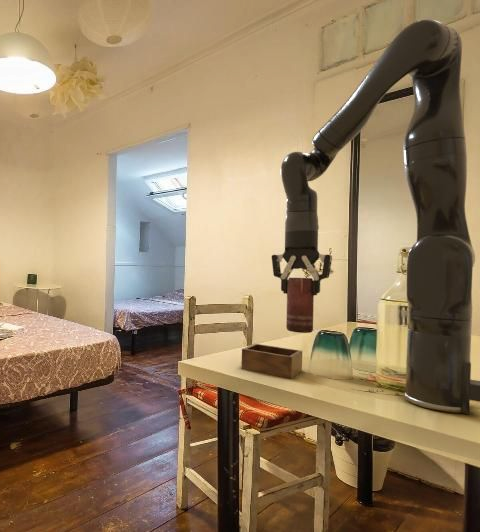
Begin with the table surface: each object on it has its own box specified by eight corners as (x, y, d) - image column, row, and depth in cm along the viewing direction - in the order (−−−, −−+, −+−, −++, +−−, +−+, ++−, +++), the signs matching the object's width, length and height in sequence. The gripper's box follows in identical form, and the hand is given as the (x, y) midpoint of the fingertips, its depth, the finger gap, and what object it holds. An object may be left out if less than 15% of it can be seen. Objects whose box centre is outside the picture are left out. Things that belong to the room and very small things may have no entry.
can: (290, 332, 101) (291, 277, 101) (283, 328, 107) (284, 276, 107) (316, 333, 99) (317, 278, 99) (308, 329, 105) (309, 277, 105)
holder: (301, 370, 100) (302, 350, 100) (291, 378, 93) (291, 357, 93) (254, 362, 108) (255, 343, 108) (241, 368, 101) (241, 348, 100)
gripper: (267, 230, 105) (266, 293, 105) (330, 227, 95) (329, 297, 95) (276, 232, 110) (275, 292, 111) (336, 229, 101) (335, 295, 101)
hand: (300, 294), depth 103 cm, fingers closed on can, 6 cm apart
